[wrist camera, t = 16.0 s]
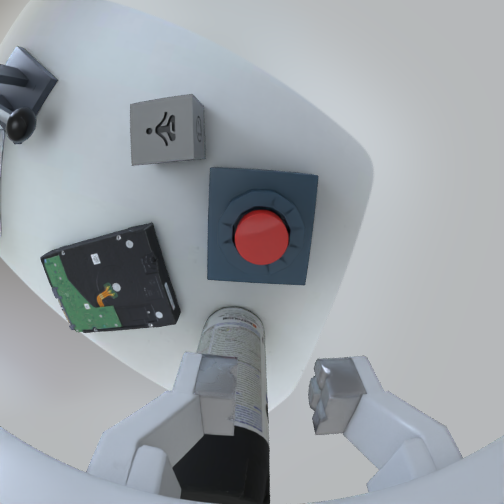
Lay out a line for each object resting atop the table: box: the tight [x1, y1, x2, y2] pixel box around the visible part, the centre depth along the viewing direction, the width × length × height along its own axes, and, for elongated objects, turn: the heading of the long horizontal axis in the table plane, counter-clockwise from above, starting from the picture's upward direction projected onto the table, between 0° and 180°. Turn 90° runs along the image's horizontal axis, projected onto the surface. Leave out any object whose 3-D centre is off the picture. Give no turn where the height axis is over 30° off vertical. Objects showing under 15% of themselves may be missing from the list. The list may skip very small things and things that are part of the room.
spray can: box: [172, 307, 270, 504], centre depth 20 cm, size 7×7×20 cm
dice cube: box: [130, 94, 205, 166], centre depth 21 cm, size 5×5×5 cm
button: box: [235, 210, 289, 265], centre depth 21 cm, size 4×4×2 cm
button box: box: [207, 167, 318, 285], centre depth 24 cm, size 10×9×4 cm
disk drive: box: [41, 223, 181, 333], centre depth 26 cm, size 10×3×15 cm
